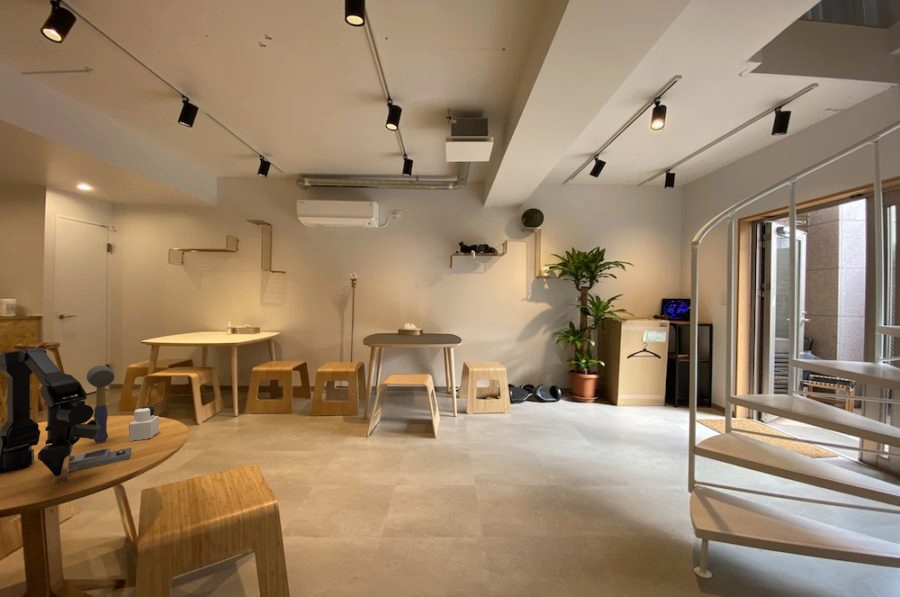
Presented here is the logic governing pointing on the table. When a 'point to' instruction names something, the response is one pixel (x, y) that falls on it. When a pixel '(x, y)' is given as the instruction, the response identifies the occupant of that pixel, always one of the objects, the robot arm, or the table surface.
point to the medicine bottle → (143, 424)
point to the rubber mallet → (100, 397)
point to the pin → (63, 472)
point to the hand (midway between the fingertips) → (61, 469)
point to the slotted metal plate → (97, 458)
